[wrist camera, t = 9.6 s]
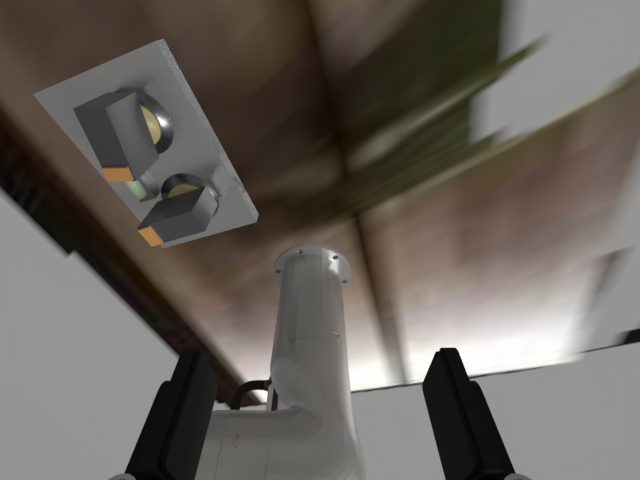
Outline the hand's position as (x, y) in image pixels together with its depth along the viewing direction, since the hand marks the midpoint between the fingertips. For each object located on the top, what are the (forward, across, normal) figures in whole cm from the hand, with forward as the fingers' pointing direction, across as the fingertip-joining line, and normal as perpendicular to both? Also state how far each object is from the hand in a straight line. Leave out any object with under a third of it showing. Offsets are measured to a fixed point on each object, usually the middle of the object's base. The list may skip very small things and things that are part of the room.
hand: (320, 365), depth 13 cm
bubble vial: (+28, +22, +6) cm, 36 cm away
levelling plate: (+30, +19, +4) cm, 36 cm away
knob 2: (+28, +17, +9) cm, 33 cm away
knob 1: (+28, +20, -1) cm, 34 cm away
